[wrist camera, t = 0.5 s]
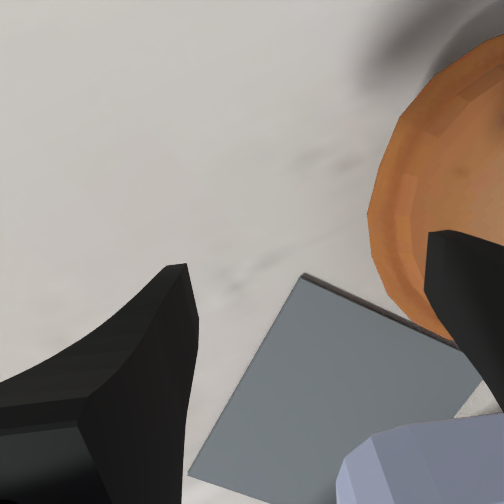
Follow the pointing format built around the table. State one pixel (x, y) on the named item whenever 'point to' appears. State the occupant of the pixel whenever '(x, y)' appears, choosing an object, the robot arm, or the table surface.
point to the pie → (440, 175)
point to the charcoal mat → (326, 397)
